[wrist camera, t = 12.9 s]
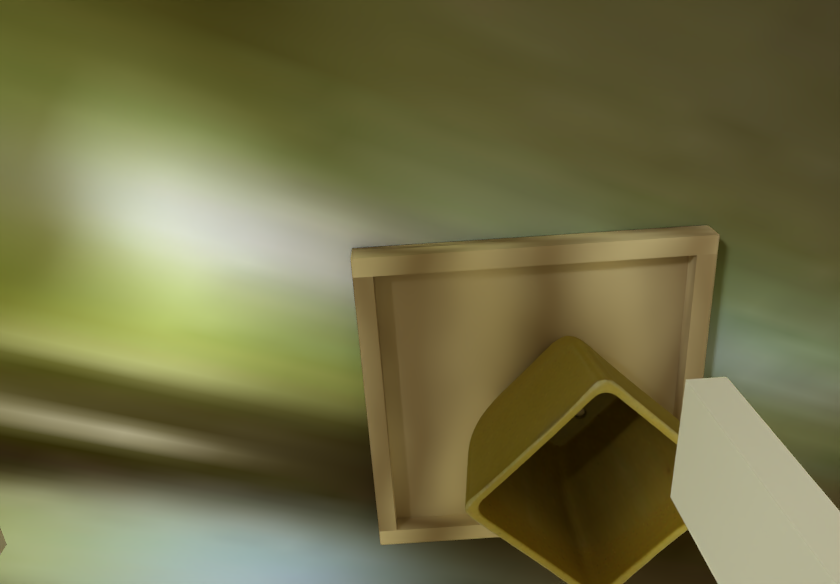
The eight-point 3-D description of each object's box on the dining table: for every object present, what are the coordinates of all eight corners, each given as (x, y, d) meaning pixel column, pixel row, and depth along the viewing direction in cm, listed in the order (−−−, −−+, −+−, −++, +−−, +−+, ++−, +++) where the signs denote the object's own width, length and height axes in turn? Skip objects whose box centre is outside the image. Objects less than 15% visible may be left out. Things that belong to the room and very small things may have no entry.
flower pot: (560, 287, 37) (607, 376, 29) (672, 382, 39) (744, 489, 31) (446, 400, 39) (460, 511, 31) (558, 482, 42) (597, 605, 34)
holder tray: (381, 527, 43) (380, 544, 42) (352, 248, 36) (350, 258, 35) (677, 507, 43) (686, 524, 42) (707, 224, 36) (719, 234, 35)
